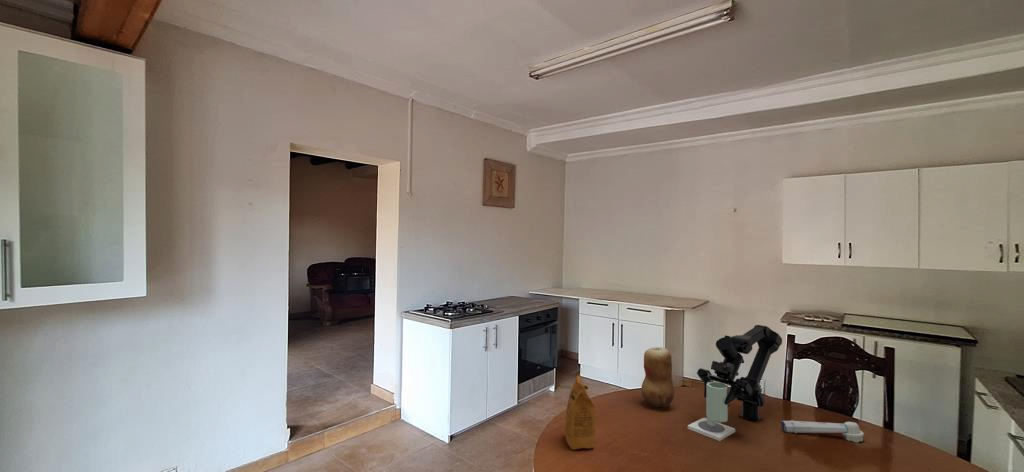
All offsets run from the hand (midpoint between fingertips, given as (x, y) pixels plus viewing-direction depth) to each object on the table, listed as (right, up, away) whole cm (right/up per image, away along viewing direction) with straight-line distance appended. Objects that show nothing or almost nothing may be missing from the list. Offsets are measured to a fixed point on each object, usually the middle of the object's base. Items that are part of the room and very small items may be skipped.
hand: (715, 400), depth 151 cm
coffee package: (-51, -12, -7) cm, 53 cm away
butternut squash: (-12, -13, +26) cm, 31 cm away
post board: (0, -12, +4) cm, 13 cm away
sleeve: (+1, -7, +1) cm, 7 cm away
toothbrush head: (+39, -13, 0) cm, 42 cm away
